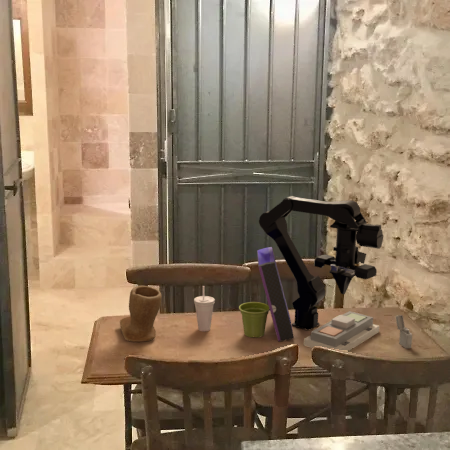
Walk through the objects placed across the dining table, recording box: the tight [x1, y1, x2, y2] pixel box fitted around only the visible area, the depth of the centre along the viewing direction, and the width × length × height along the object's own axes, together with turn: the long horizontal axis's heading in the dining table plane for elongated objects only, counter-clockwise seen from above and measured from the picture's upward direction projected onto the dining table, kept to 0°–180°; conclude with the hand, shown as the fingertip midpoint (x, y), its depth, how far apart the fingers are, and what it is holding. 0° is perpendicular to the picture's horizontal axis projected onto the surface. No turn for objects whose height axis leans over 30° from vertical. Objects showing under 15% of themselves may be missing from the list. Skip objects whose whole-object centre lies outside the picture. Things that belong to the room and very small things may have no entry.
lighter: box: [395, 314, 413, 350], centre depth 194 cm, size 7×2×8 cm, turn 15°
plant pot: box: [238, 301, 270, 338], centre depth 200 cm, size 9×9×9 cm
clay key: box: [319, 326, 343, 337], centre depth 192 cm, size 5×5×2 cm
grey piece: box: [303, 310, 380, 352], centre depth 198 cm, size 12×24×4 cm, turn 140°
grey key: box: [331, 314, 355, 330], centre depth 197 cm, size 5×5×2 cm
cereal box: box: [256, 246, 295, 343], centre depth 201 cm, size 17×5×24 cm, turn 179°
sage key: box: [347, 313, 366, 323], centre depth 203 cm, size 5×5×2 cm
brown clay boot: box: [119, 285, 163, 343], centre depth 198 cm, size 15×12×15 cm
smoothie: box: [193, 285, 216, 332], centre depth 203 cm, size 6×6×14 cm
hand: (343, 293), depth 199 cm, fingers closed
